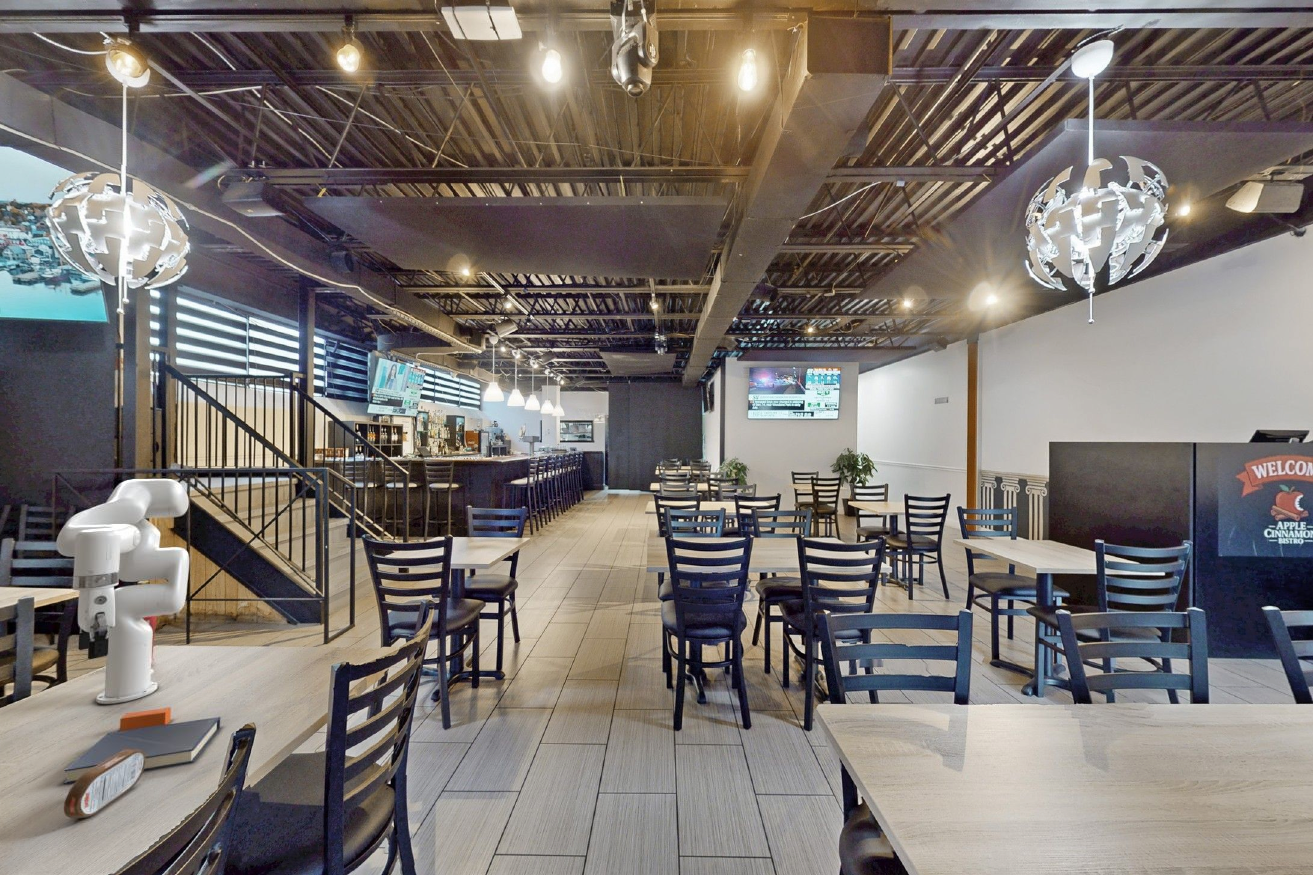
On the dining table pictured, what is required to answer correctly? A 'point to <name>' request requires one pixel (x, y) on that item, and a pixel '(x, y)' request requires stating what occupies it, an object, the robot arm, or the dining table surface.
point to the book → (150, 745)
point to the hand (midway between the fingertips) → (92, 652)
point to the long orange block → (145, 719)
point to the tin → (104, 783)
